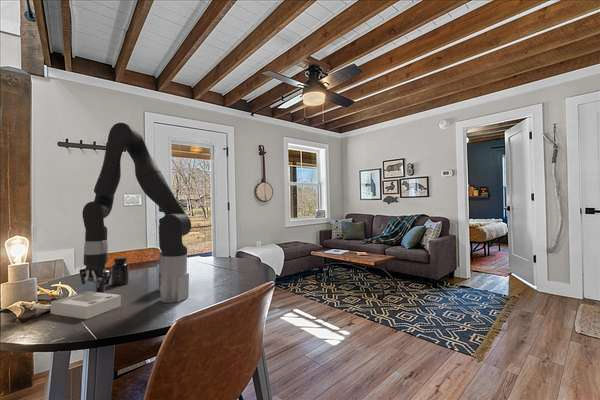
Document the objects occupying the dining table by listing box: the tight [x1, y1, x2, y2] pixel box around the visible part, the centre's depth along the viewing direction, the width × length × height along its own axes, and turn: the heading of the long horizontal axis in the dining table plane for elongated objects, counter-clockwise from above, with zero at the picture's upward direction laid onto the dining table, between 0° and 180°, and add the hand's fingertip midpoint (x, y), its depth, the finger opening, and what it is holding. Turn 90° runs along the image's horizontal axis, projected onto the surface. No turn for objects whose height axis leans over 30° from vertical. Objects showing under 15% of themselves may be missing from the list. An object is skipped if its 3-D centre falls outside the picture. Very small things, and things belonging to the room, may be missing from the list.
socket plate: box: [50, 291, 122, 320], centre depth 95 cm, size 16×12×4 cm
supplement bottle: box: [110, 256, 130, 287], centre depth 127 cm, size 7×7×12 cm
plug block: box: [84, 278, 106, 293], centre depth 107 cm, size 4×4×9 cm
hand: (94, 295), depth 107 cm, fingers closed on plug block, 4 cm apart
